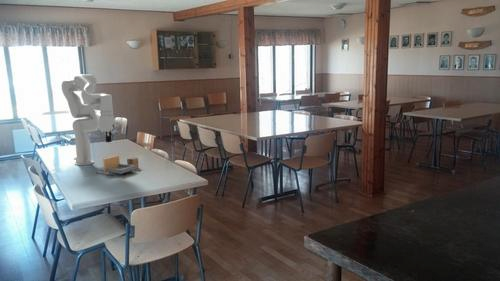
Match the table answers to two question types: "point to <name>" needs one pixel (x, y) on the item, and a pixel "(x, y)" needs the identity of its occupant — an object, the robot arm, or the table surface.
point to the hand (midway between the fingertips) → (108, 141)
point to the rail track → (115, 174)
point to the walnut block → (133, 162)
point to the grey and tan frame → (116, 165)
